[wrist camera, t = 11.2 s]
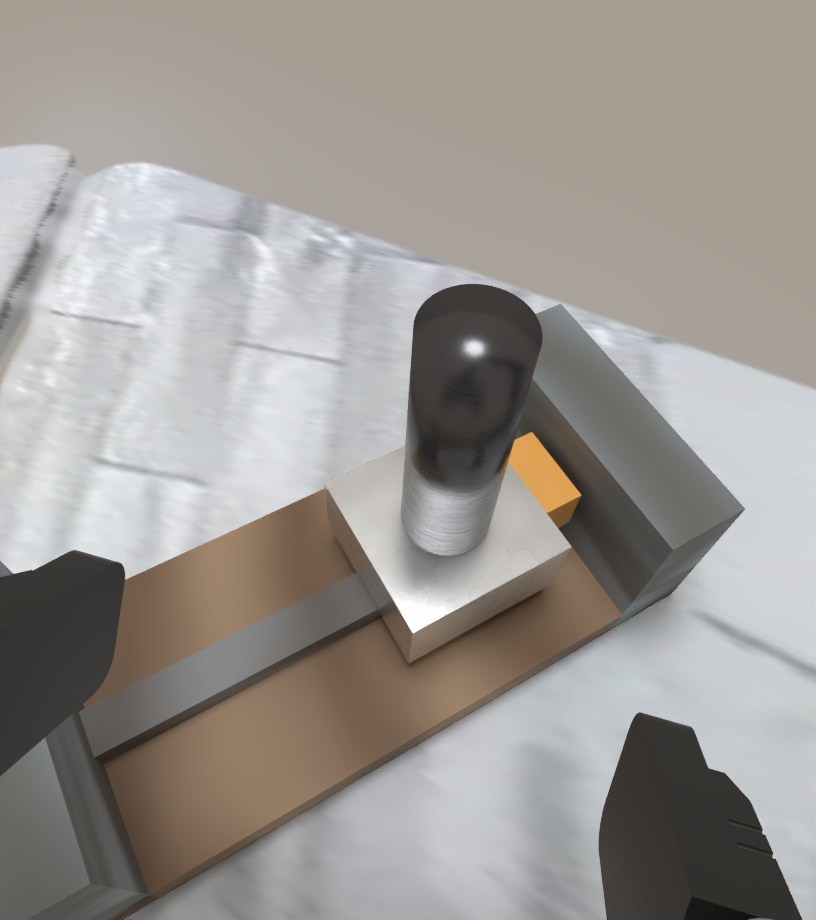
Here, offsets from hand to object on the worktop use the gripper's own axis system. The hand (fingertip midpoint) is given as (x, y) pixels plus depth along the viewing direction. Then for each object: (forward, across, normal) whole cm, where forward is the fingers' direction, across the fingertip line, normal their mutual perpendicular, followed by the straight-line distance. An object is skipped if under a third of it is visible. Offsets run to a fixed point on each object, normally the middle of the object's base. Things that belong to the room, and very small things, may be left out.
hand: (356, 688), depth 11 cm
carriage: (+16, 0, +3) cm, 16 cm away
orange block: (+17, -3, +1) cm, 18 cm away
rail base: (+16, +3, +7) cm, 18 cm away
